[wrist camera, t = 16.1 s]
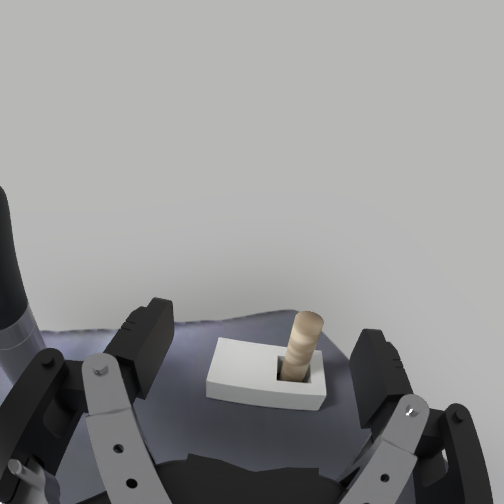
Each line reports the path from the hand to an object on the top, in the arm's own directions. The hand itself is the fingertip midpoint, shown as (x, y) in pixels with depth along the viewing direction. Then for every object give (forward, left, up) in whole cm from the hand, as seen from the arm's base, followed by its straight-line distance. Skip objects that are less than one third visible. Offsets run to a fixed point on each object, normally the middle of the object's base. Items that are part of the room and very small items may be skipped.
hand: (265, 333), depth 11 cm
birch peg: (+7, +21, -30) cm, 37 cm away
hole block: (+3, +21, -30) cm, 37 cm away
